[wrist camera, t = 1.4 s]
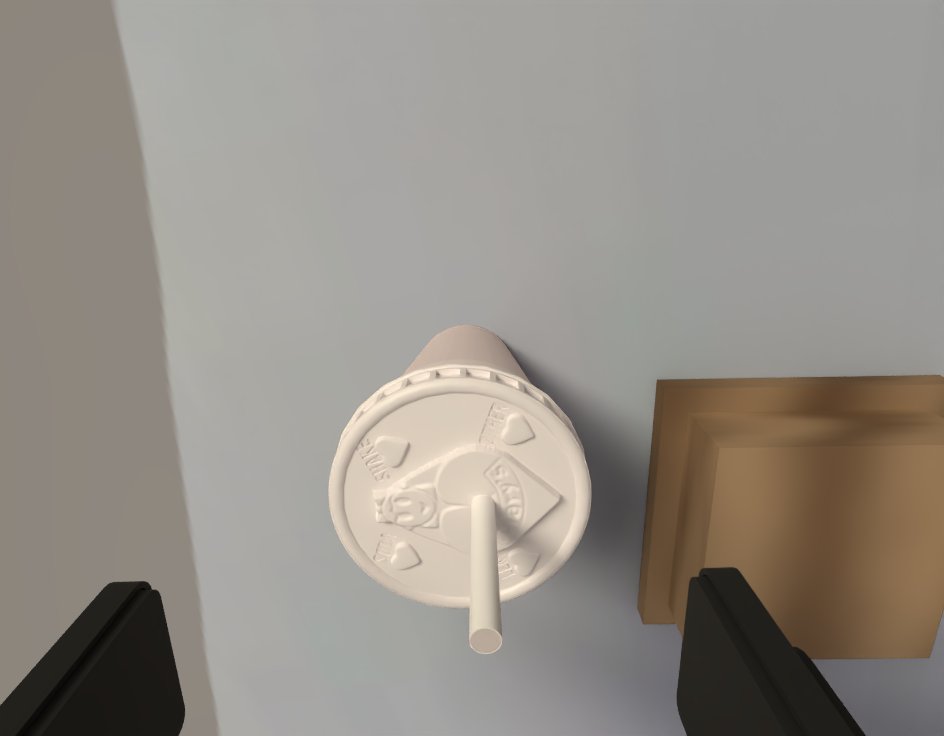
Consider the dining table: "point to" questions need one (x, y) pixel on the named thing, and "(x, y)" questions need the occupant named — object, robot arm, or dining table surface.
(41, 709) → the robot arm
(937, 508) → the pedestal
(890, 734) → the dining table surface
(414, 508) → the smoothie
